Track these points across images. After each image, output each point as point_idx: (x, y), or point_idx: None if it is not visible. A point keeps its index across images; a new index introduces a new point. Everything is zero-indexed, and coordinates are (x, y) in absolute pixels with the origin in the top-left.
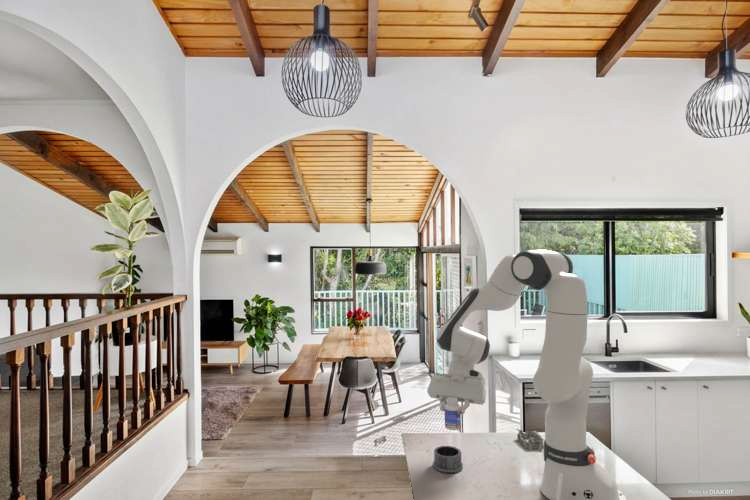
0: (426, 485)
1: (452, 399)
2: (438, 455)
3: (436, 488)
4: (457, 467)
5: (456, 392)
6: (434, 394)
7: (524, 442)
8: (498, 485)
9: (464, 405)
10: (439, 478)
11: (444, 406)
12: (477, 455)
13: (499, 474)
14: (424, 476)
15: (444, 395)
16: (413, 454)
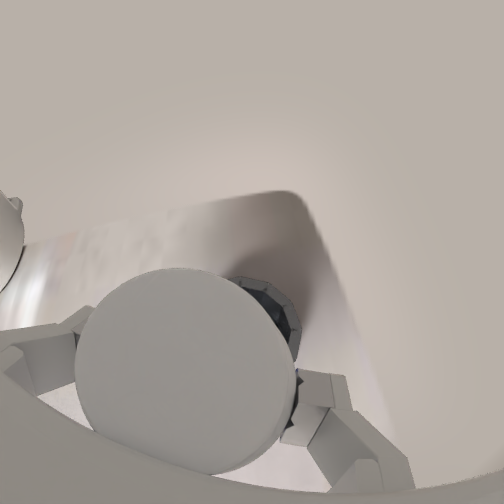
0: (289, 220)
1: (162, 319)
2: (275, 288)
3: (260, 212)
4: None
5: (52, 489)
6: (482, 478)
7: None
8: (95, 259)
9: (45, 330)
10: (259, 262)
11: (294, 369)
12: None
13: None
14: (306, 264)
15: (342, 494)
16: (378, 403)
